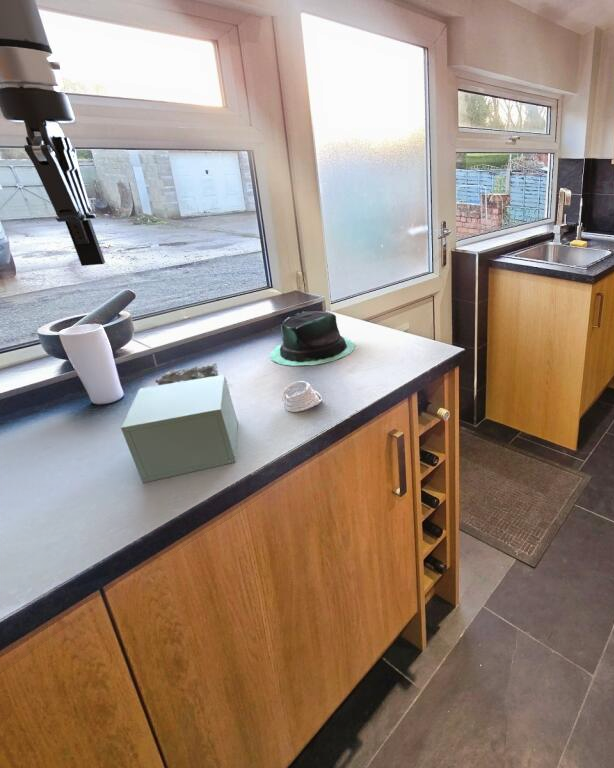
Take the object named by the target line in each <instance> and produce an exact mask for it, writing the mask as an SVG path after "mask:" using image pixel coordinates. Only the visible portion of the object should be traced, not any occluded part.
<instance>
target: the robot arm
mask: <svg viewBox="0 0 614 768" xmlns="http://www.w3.org/2000/svg"><path fill="white" fill-rule="evenodd" d="M62 70H63V65H62V64H61V63H60V62H59V61H55V58H54V55H53V51H52V48H51V45H50V43H49V40H48V36H47V33H46V30H45V27H44V24H43V21H42V18H41V13H40V11H39V8H38V5H37V1H36V0H0V111H1V113H2V116H3V117H4V119H5V120H7V121H9V122H16V123H18V122H19V123H24V125H25V126H24V127H25V130H26V135H27V136H25V141H26V143H27V144H24V151H25V153H26V155H27V156H28V157H29V159H30V161H31V163H32V164H33V166H34V168H35V170H36V173H37V175H38V177H39V179H40V182H41V183H42V186H43V188H44V190H45V192H46V195H47V197H48V199H49V201H50V203H51V205H52V207H53V209H54V212H55V215H56V218H55V219H56V221H57V222H58V223H63V222H64V223H65V225H66V228H67V230H68V233H69V236H70V238H71V241H72V243H73V246H74V249H75V252H76V254H77V257H78V260H79V263H80V265H81V267H83V266H85V267H86V266H97V265H104V264H106V260H105V257H104V255H103V251H102V249H101V246H100V243H99V240H98V237H97V234H96V232H95V229H94V227H93V223H92V220H91V219H93V220H94V219H97V214H96V213H92V207H91V204H90V201H89V198H88V194H87V190H86V186H85V183H84V180H83V177H82V173H81V169H80V166H79V162H78V157H77V156H78V155H77V149H76V148H75V147H74V146H72V142H71V140H70V138H69V137H67V136H65V134H64V132H63V130H62V127H61V126H60V124H70V123H74V122H75V119H76V117H75V114H74V112H73V109H72V106H71V103H70V100H69V97H68V95H67V94H66V93H65V92H63V91H60V90H61V89H62V88H63V87H64V83H63V80H62V77H61V74H60V73H59V72H58V71H62Z"/></svg>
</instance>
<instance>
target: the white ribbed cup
mask: <svg viewBox="0 0 614 768" xmlns="http://www.w3.org/2000/svg"><path fill="white" fill-rule="evenodd" d="M296 392H300V393H298V394H295V393H296ZM281 398H282V402H283V407H284V409H285V410H287V411H288V412H292V413H298V412H303V411H306V410H309V409H312V408H314V407H315V406H317V405H319V404H320V403H321V402H322V401H323V396H322V394H320V393H319V392H318V391H316V390H315V389H313V387H312V386H311V384H310V383H308V382H307V381H305V380H299V381H295V382H292V383H290V384H289V385H287V386H286V387H285V388H284V389H283V390H282V394H281Z"/></svg>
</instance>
